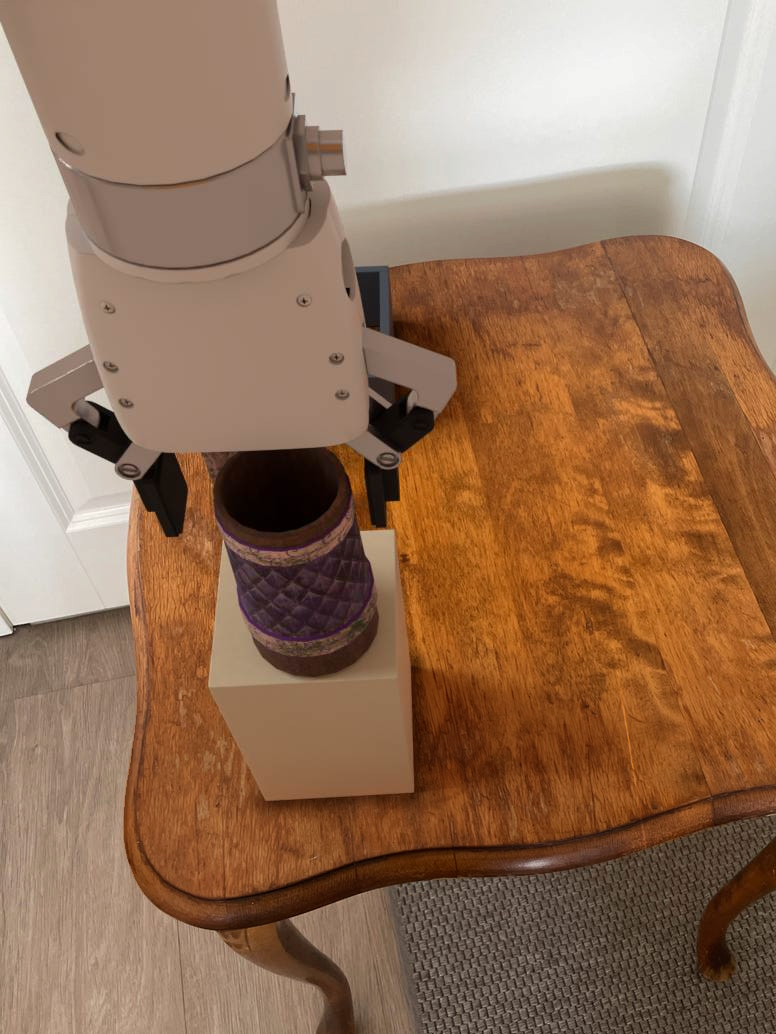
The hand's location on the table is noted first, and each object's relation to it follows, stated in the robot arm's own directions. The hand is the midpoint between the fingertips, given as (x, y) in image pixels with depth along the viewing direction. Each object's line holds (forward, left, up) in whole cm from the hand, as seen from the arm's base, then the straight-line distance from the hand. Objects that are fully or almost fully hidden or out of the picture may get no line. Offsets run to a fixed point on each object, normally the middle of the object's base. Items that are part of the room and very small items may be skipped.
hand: (279, 509), depth 45 cm
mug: (0, 0, -8) cm, 8 cm away
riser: (0, 0, -24) cm, 24 cm away
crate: (-2, +36, -24) cm, 43 cm away
